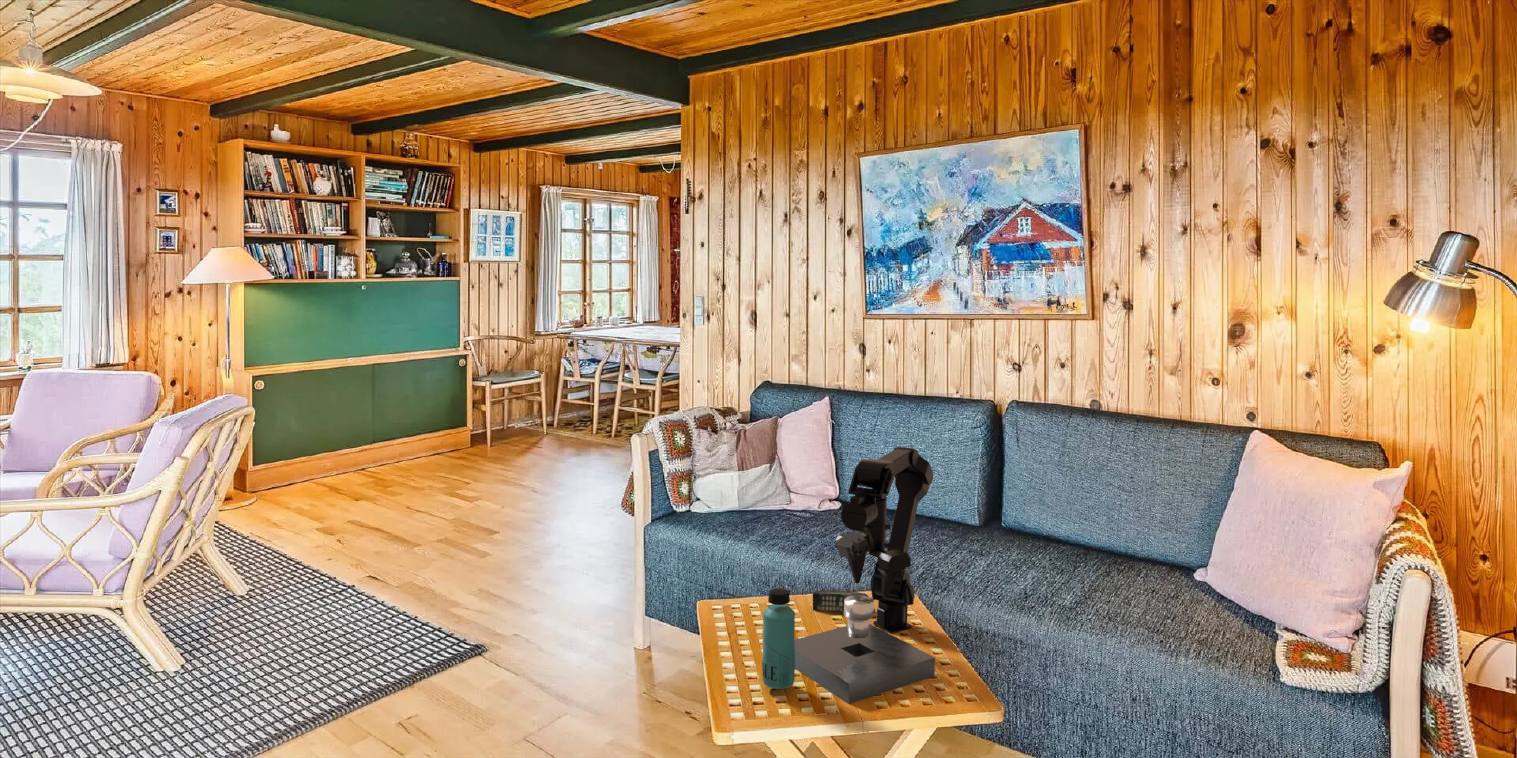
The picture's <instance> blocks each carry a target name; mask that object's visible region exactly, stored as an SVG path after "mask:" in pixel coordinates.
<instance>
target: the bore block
mask: <svg viewBox="0 0 1517 758" xmlns="http://www.w3.org/2000/svg"><path fill="white" fill-rule="evenodd" d="M847 629H848V625H845V626H842V627H837V628H833V629H830V630H826V631H822V632H818V633H814V634H811V635H807V636H803V637H800V638H796V639H795V638H794V648H795V665H794V670H795V671H798V672H799V673H801V674H802V675H803V676H805V677H806V678H808V679H809V680H811V681H813V682H814V683H816V684H817V685H819V686H821V687H822V688H824V689H825V690H826V691H828V692H830V693H831V694H833V695H834V696H836V697H837V698H839V699H840V700H842V701H843V702H845V703H846V704H848V705H850V704H853V703H857V702H860V701H863V700H866V699H869V698H871V697H875V696H880V695H882V694H885V693H887V692H891V691H894V690H897V689H900V688H903V687H906V686H911V685H912V684H915V683H918V682H921V681H924V680H927V679H928V680H929V679H931V678H934V677H935V673H936V672H935V669H936V657H935V656H933V655H931V654H929V653H927V652H925V651H923V650H921V649H919V648H917V647H916V646H913V645H912V644H909V643H907V642H906V641H904V640H902V639H900V638H898V637H896V636H894V635H892V633H890V632H888V631H886V630H884V629H882V628H880V627H878V626H877V627H876V625H874V624H871V623H869V636H868V637H866V638H853V637H850V636H849V635H848V634H847Z"/></svg>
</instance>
